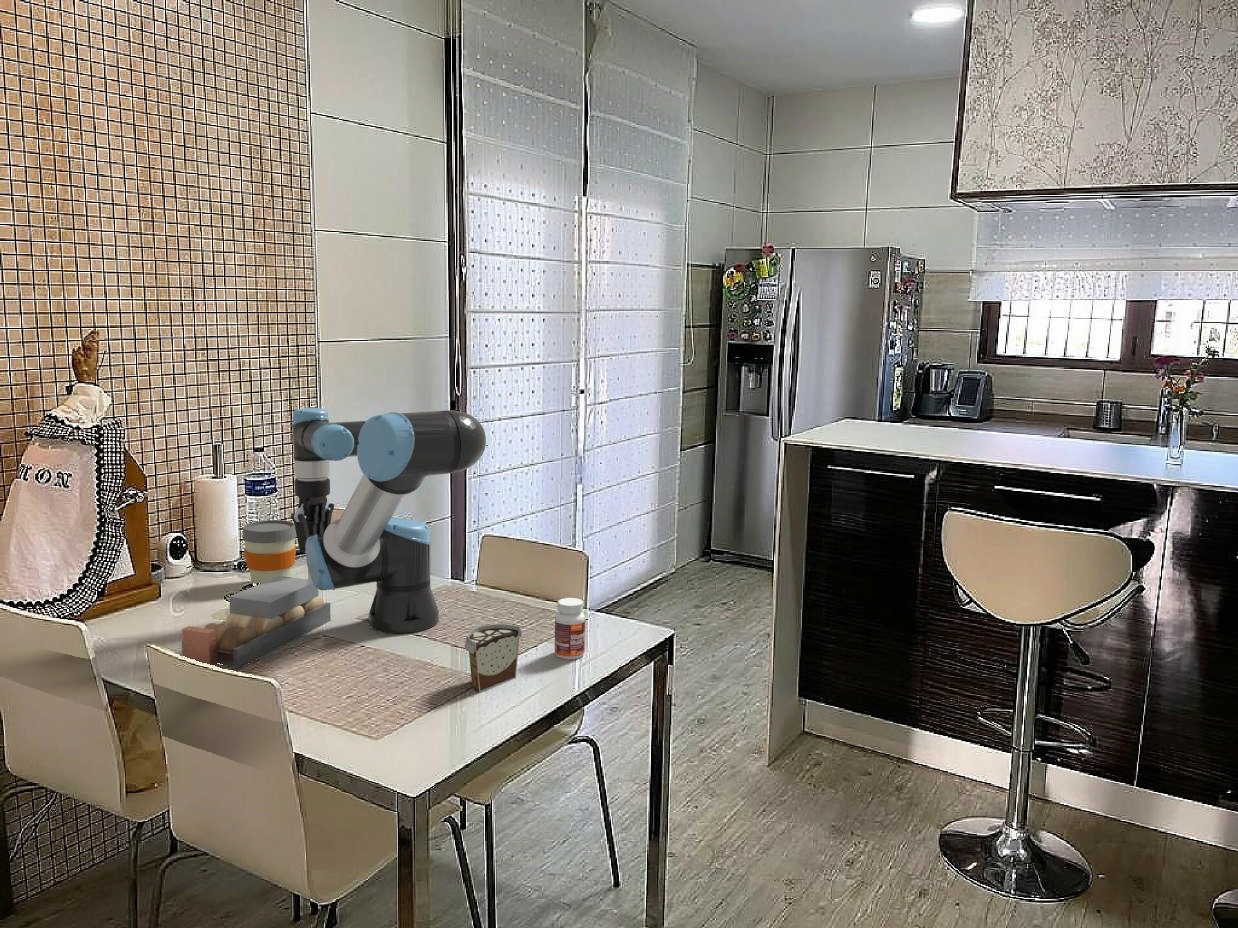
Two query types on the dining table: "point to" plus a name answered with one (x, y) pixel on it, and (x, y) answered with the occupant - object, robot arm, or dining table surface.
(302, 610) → the roller
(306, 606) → the roller
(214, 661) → the roller bed
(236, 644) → the roller
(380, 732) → the dining table surface
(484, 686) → the food container
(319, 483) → the robot arm
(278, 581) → the slab
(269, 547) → the reusable coffee cup
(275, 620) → the roller
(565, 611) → the pill bottle
